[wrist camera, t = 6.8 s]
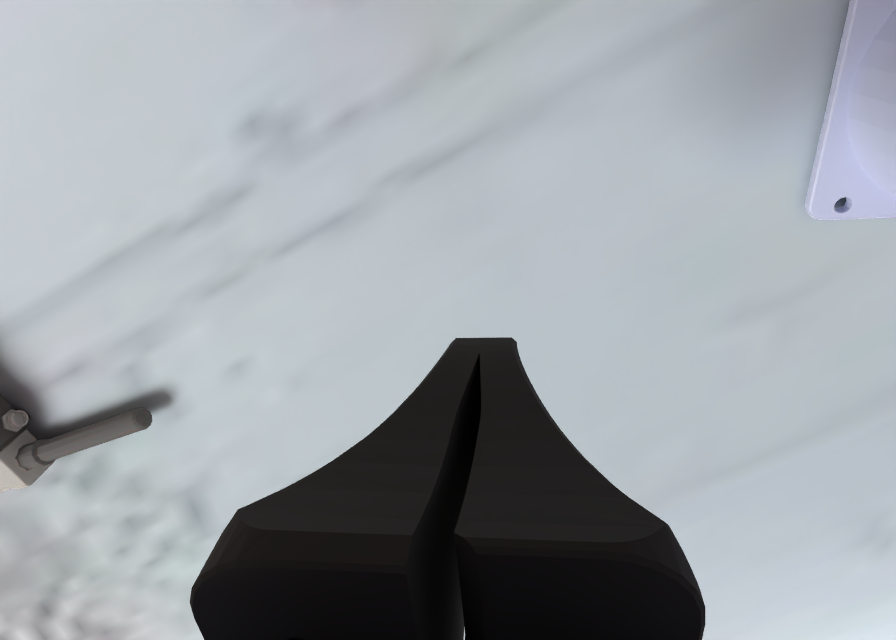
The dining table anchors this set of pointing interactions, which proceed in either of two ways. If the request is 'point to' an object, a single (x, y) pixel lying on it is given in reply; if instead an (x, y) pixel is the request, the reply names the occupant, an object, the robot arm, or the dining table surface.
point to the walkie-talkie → (53, 443)
